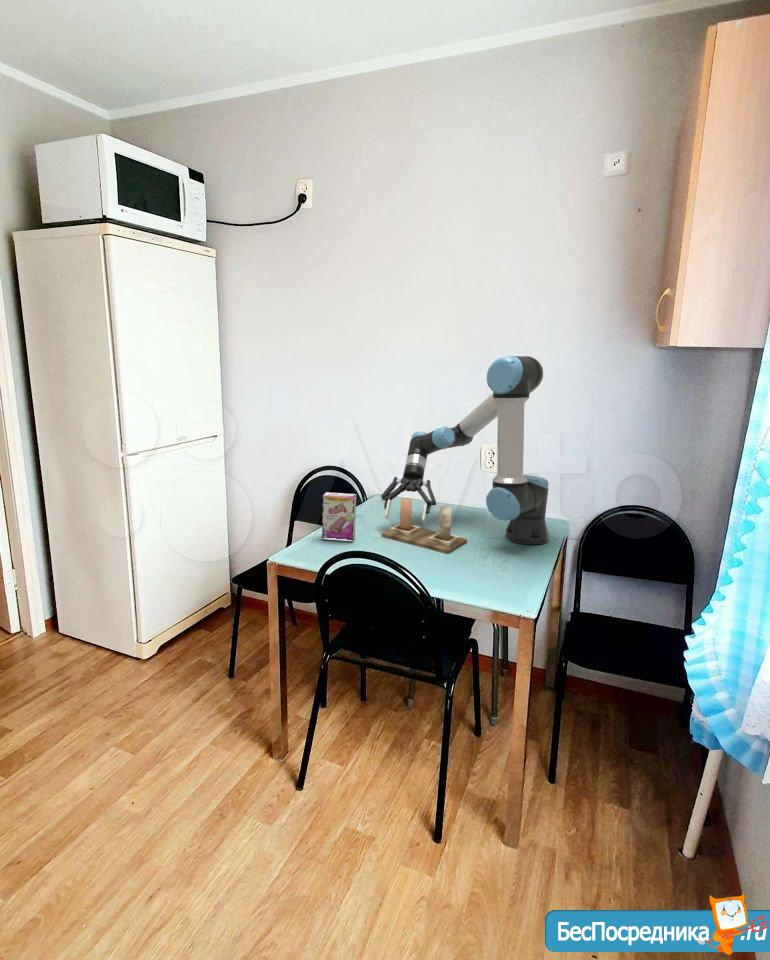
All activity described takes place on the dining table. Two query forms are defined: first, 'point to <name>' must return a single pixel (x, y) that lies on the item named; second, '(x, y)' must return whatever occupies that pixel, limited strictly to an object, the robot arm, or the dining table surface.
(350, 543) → the dining table surface
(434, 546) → the board
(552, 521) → the dining table surface
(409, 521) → the peg
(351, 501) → the candy bar box
